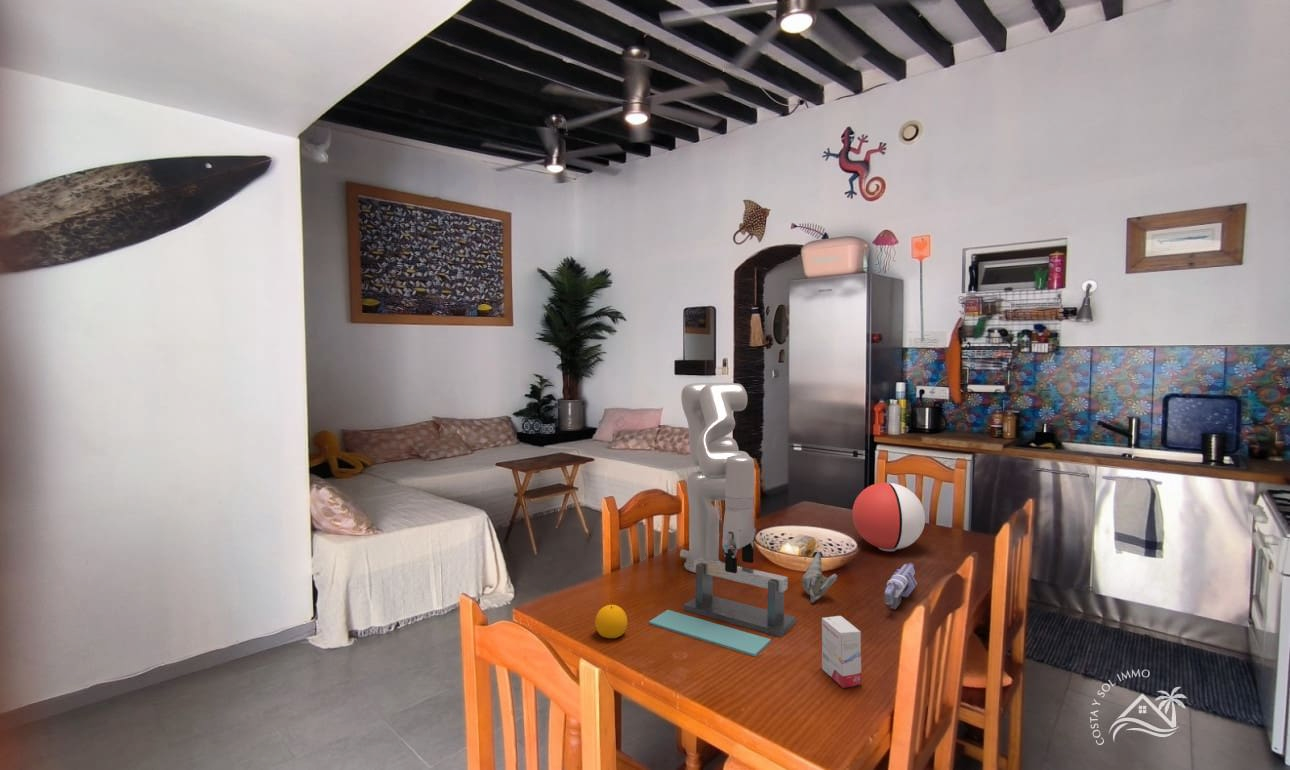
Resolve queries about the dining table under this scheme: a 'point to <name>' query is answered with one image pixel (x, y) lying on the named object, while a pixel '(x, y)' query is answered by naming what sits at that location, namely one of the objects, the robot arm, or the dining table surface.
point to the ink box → (841, 651)
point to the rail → (742, 574)
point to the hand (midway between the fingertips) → (739, 567)
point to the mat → (711, 632)
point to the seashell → (816, 579)
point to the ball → (888, 516)
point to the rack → (740, 608)
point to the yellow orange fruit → (611, 621)
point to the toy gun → (900, 585)
